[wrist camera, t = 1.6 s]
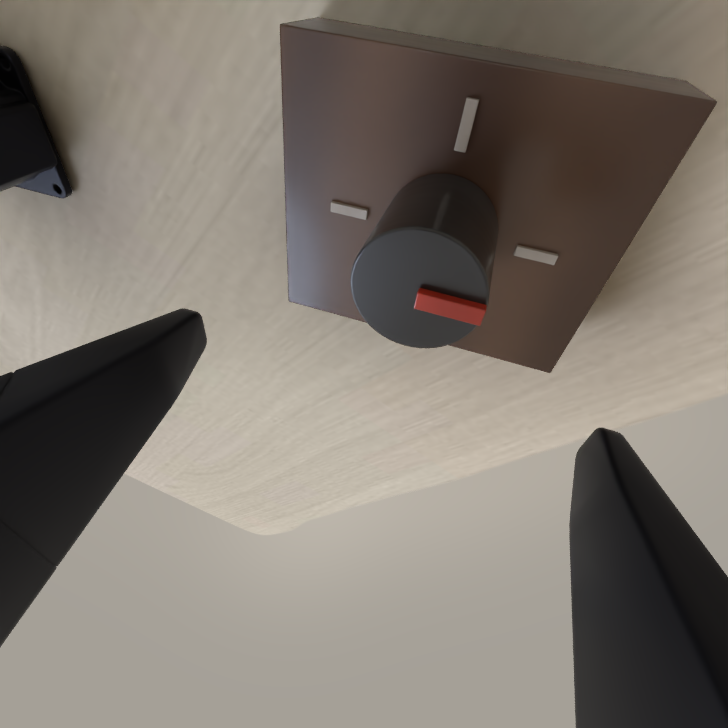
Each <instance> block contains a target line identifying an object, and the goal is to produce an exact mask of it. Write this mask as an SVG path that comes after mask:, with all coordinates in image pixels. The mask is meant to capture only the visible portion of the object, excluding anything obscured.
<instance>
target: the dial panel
mask: <svg viewBox="0 0 728 728" xmlns="http://www.w3.org/2000/svg"><path fill="white" fill-rule="evenodd" d="M280 44H281V76H282V107H283V139H284V170H285V202H286V233H287V265H288V297H289V301H290V302H294V303H297V304H301V305H305V306H308V307H312V308H316V309H319V310H323V311H326V312H330V313H334V314H337V315H341V316H345V317H348V318H352V319H356V320H359V321H363V322H366V321H365V320H364V318H363V317H362V315H361V314H360V313H359V311H358V309H357V307H356V305H355V302H354V300H353V296H352V292H351V284H350V279H351V271H352V267H353V264H354V261H355V259H356V257H357V255H358V253H359V252H360V250H361V248H362V247H363V245H364V244H365V242H366V241H367V239H368V238H369V236H370V234H371V233H372V231H373V230H374V228H375V227H376V225H377V223H378V222H379V220H380V219H381V217H382V216H383V214H384V213H385V211H386V209H387V208H388V206H389V205H390V203H391V202H392V200H393V199H394V197H395V196H396V194H397V193H398V192H399V191H400V190H401V189H402V188H403V187H404V186H406V185H407V184H408V183H410V182H412V181H413V180H415V179H418V178H420V177H422V176H426V175H430V174H452V175H456V176H460V177H463V178H465V179H467V180H469V181H471V182H472V183H474V184H476V185H477V186H478V187H479V188H480V189H482V190H483V192H484V193H485V194H486V195H487V196H488V198H489V199H490V201H491V202H492V204H493V206H494V209H495V211H496V215H497V219H498V237H497V244H496V251H495V258H494V266H493V273H492V280H491V287H490V294H489V301H488V306H487V309H486V313H485V315H484V318H483V320H482V323H481V325H480V326H478V325H477V326H476V327H475V329H474V330H473V331H472V332H470V333H469V334H468V335H467V336H465V337H464V338H462V339H460V340H459V341H456V342H454V343H452V344H449V345H450V346H454V347H457V348H461V349H465V350H468V351H472V352H475V353H479V354H483V355H486V356H490V357H494V358H497V359H501V360H504V361H508V362H512V363H515V364H519V365H523V366H526V367H530V368H534V369H537V370H541V371H544V372H548V373H551V371H552V369H553V368H554V366H555V365H556V363H557V361H558V360H559V358H560V357H561V355H562V353H563V352H564V350H565V348H566V347H567V345H568V344H569V342H570V340H571V339H572V337H573V335H574V334H575V332H576V331H577V329H578V327H579V326H580V324H581V322H582V321H583V319H584V318H585V316H586V314H587V313H588V311H589V310H590V308H591V306H592V305H593V303H594V301H595V300H596V298H597V297H598V295H599V293H600V292H601V290H602V288H603V287H604V285H605V284H606V282H607V280H608V279H609V277H610V275H611V274H612V272H613V271H614V269H615V267H616V266H617V264H618V262H619V261H620V259H621V258H622V256H623V254H624V253H625V251H626V250H627V248H628V246H629V245H630V243H631V241H632V240H633V238H634V237H635V235H636V233H637V232H638V230H639V228H640V227H641V225H642V224H643V222H644V220H645V219H646V217H647V215H648V214H649V212H650V211H651V209H652V207H653V206H654V204H655V203H656V201H657V199H658V198H659V196H660V194H661V193H662V191H663V190H664V188H665V186H666V185H667V183H668V181H669V180H670V178H671V177H672V175H673V173H674V172H675V170H676V168H677V167H678V165H679V164H680V162H681V160H682V159H683V157H684V155H685V154H686V152H687V151H688V149H689V147H690V146H691V144H692V143H693V141H694V139H695V138H696V136H697V134H698V133H699V131H700V130H701V128H702V126H703V125H704V123H705V121H706V120H707V118H708V117H709V115H710V113H711V112H712V110H713V108H714V107H715V105H716V104H717V101H716V100H714V99H713V98H711V97H710V96H708V95H707V94H705V93H704V92H702V91H701V90H699V89H698V88H696V87H695V86H693V85H692V84H690V83H689V82H687V81H684V80H679V79H673V78H667V77H661V76H655V75H650V74H644V73H638V72H632V71H626V70H621V69H615V68H609V67H603V66H597V65H592V64H586V63H580V62H574V61H568V60H562V59H557V58H551V57H545V56H539V55H533V54H528V53H522V52H516V51H510V50H504V49H499V48H493V47H487V46H481V45H475V44H470V43H464V42H458V41H452V40H446V39H441V38H435V37H429V36H423V35H417V34H412V33H406V32H400V31H394V30H388V29H383V28H377V27H371V26H365V25H359V24H353V23H348V22H342V21H336V20H330V19H324V18H319V17H317V18H312V19H306V20H300V21H295V22H289V23H283V24H280ZM366 323H367V322H366Z"/></svg>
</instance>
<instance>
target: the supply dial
mask: <svg viewBox="0 0 728 728" xmlns="http://www.w3.org/2000/svg"><path fill="white" fill-rule="evenodd" d="M497 237H498V219H497V215H496V211H495V209H494V206H493V204H492V202H491V201H490V199H489V198H488V196H487V195H486V194H485V193H484V192H483V190H482V189H480V188H479V187H478V186H477V185H476V184H474V183H472V182H471V181H469V180H467V179H465V178H463V177H460V176H456V175H452V174H430V175H426V176H422V177H420V178H418V179H415V180H413V181H412V182H410V183H408V184H407V185H406V186H404V187H403V188H402V189H401V190H400V191H399V192H398V193H397V194H396V196H395V197H394V199H393V200H392V202H391V203H390V205H389V206H388V208H387V209H386V211H385V213H384V214H383V216H382V217H381V219H380V220H379V222H378V223H377V225H376V227H375V228H374V230H373V231H372V233H371V234H370V236H369V238H368V239H367V241H366V242H365V244H364V245H363V247H362V248H361V250H360V252H359V253H358V255H357V257H356V259H355V261H354V264H353V267H352V271H351V279H350V284H351V292H352V296H353V300H354V302H355V305H356V307H357V309H358V311H359V313H360V314H361V315H362V317H363V318H364V320H365V321H366V322H367V323H368V324H369V325H370V326H371V327H372V328H373V329H374V330H375V331H377V332H378V333H380V334H381V335H382V336H384V337H386V338H388V339H389V340H392V341H394V342H396V343H399V344H402V345H405V346H410V347H416V348H436V347H442V346H446V345H449V344H452V343H454V342H456V341H459V340H460V339H462V338H464V337H465V336H467V335H468V334H469V333H470V332H472V331H473V330H474V329H475V327H476V326H477V325H478V326H480V325H481V323H482V320H483V318H484V315H485V313H486V309H487V306H488V301H489V294H490V287H491V280H492V273H493V266H494V258H495V251H496V244H497Z"/></svg>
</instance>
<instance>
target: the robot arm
mask: <svg viewBox="0 0 728 728" xmlns="http://www.w3.org/2000/svg"><path fill="white" fill-rule="evenodd" d="M13 186H16V187H20V188H24V189H28V190H32V191H35V192H39V193H43V194H47V195H51V196H55V197H58V198H66V197H68V196H70V195H71V194H72V189H71V186H70V183H69V181H68V178H67V176H66V173H65V171H64V168H63V166H62V163H61V161H60V158H59V156H58V153H57V151H56V148H55V146H54V143H53V141H52V138H51V136H50V133H49V131H48V128H47V126H46V123H45V121H44V118H43V116H42V113H41V110H40V108H39V105H38V103H37V100H36V98H35V95H34V93H33V90H32V88H31V85H30V83H29V80H28V78H27V75H26V73H25V70H24V68H23V65H22V63H21V61H20V59H19V57H18V56H17V54H16V53H15V52H14V51H13V50H12V49H10V48H8V47H5V46H0V192H1V191H3V190H6V189H8V188H11V187H13ZM206 343H207V338H206V333H205V329H204V324H203V320H202V316H201V315H200V314H199V313H198V312H195V311H192V310H188V309H179V310H176V311H173V312H171V313H168V314H165V315H163V316H160V317H157V318H155V319H152V320H149V321H147V322H144V323H141V324H139V325H136V326H133V327H131V328H128V329H125V330H123V331H120V332H117V333H115V334H112V335H109V336H107V337H104V338H101V339H98V340H96V341H93V342H90V343H88V344H85V345H82V346H80V347H77V348H74V349H72V350H69V351H66V352H64V353H61V354H58V355H56V356H53V357H50V358H48V359H45V360H42V361H40V362H37V363H34V364H32V365H29V366H26V367H23V368H21V369H18V370H16V371H15V372H14V373H13V372H10V373H7V374H5V375H2V376H0V647H1V645H2V644H3V643H4V641H5V640H6V638H7V637H8V636H9V634H10V633H11V631H12V630H13V629H14V627H15V626H16V624H17V623H18V621H19V620H20V618H21V617H22V616H23V614H24V613H25V612H26V610H27V609H28V607H29V606H30V605H31V603H32V602H33V600H34V599H35V598H36V596H37V595H38V593H39V592H40V591H41V589H42V588H43V586H44V585H45V584H46V582H47V581H48V579H49V578H50V577H51V575H52V574H53V572H54V571H55V570H56V566H58V565H59V564H60V562H61V561H62V559H63V558H64V557H65V555H66V554H67V552H68V551H69V550H70V548H71V547H72V545H73V544H74V543H75V541H76V540H77V538H78V537H79V536H80V534H81V533H82V531H83V530H84V528H85V527H86V526H87V524H88V523H89V522H90V520H91V519H92V517H93V516H94V514H95V513H96V512H97V510H98V509H99V507H100V506H101V505H102V503H103V502H104V500H105V499H106V498H107V496H108V495H109V493H110V492H111V491H112V489H113V488H114V486H115V485H116V483H117V482H118V481H119V479H120V478H121V477H122V475H123V474H124V472H125V471H126V470H127V468H128V467H129V465H130V464H131V463H132V461H133V460H134V458H135V457H136V456H137V454H138V453H139V451H140V450H141V449H142V447H143V446H144V444H145V443H146V442H147V440H148V439H149V437H150V436H151V435H152V433H153V432H154V430H155V429H156V427H157V426H158V425H159V423H160V422H161V420H162V419H163V418H164V416H165V415H166V413H167V412H168V411H169V409H170V408H171V406H172V405H173V403H174V402H175V400H176V399H177V397H178V396H179V394H180V392H181V391H182V389H183V387H184V385H185V383H186V382H187V380H188V378H189V376H190V374H191V373H192V371H193V369H194V367H195V365H196V364H197V362H198V360H199V358H200V356H201V355H202V353H203V351H204V349H205V347H206ZM570 562H571V563H570V564H571V593H572V594H571V595H572V624H573V655H574V686H575V715H576V728H728V577H727V575H726V574H725V573H724V571H723V570H722V569H721V567H720V566H719V565H718V563H717V562H716V561H715V559H714V558H713V556H712V555H711V554H710V552H709V551H708V550H707V548H706V547H705V546H704V545H703V543H702V542H701V541H700V539H699V538H698V536H697V535H696V534H695V532H694V531H693V530H692V528H691V527H690V525H689V524H688V523H687V521H686V520H685V519H684V517H683V516H682V515H681V513H680V512H679V511H678V509H677V508H676V507H675V505H674V504H673V503H672V501H671V500H670V499H669V497H668V496H667V494H666V493H665V492H664V490H663V489H662V488H661V486H660V485H659V484H658V482H657V481H656V480H655V478H654V477H653V476H652V474H651V473H650V472H649V470H648V469H647V467H645V465H644V463H643V462H642V461H641V459H640V458H639V457H638V455H637V454H636V453H635V451H634V450H633V449H632V447H631V446H630V445H629V443H628V442H627V441H626V439H625V438H624V437H623V435H621V434H620V433H618V432H615V431H612V430H608V429H605V428H598V429H596V430H595V431H594V432H593V433H592V434H591V435H590V437H589V438H588V439H587V440H586V441H585V443H584V444H583V445H582V446H581V447H580V449H579V450H578V452H577V455H576V459H575V470H574V480H573V490H572V501H571V512H570Z"/></svg>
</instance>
